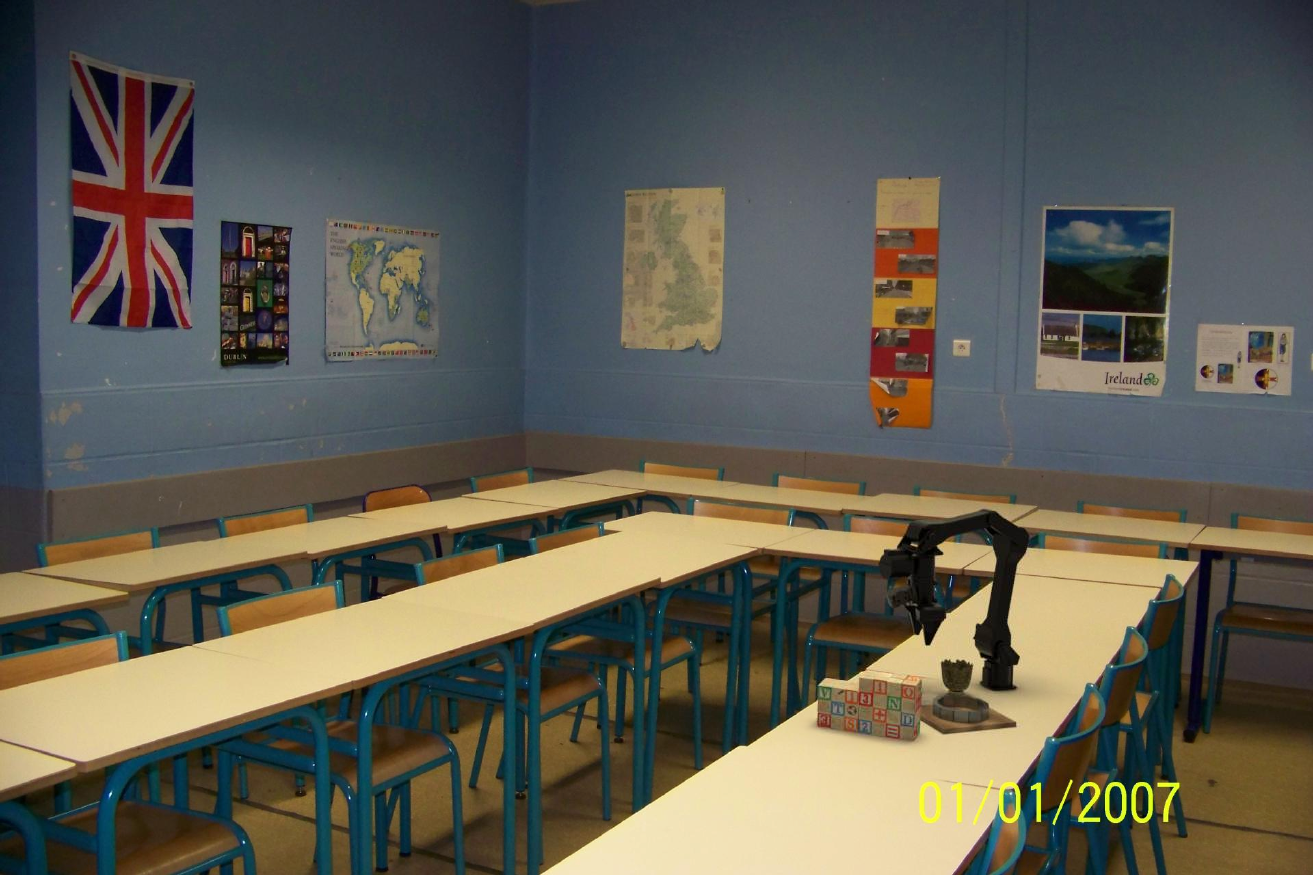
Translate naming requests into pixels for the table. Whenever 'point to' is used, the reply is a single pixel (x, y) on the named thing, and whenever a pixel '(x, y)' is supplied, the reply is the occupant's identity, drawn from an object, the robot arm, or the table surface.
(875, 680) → the stack of blocks
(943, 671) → the cup
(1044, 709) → the table surface
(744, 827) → the table surface
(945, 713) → the gray stone ring
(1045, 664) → the table surface
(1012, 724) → the base plate
